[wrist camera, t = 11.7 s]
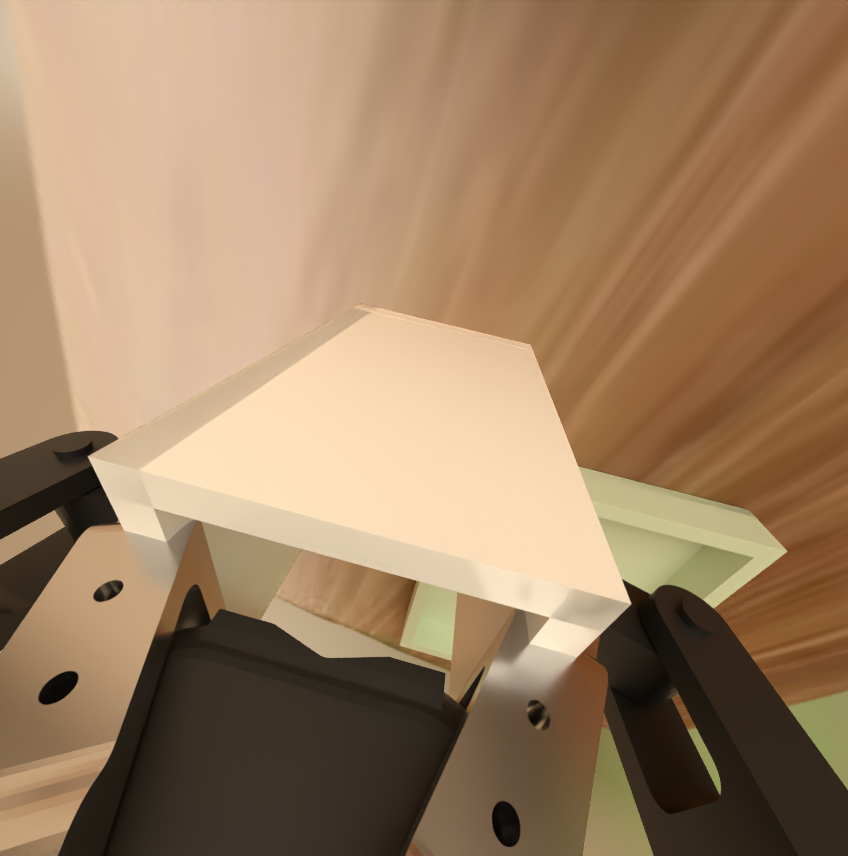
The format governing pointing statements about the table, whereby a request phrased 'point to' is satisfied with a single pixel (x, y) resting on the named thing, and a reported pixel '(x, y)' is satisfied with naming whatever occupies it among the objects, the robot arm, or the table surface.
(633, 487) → the tray
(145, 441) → the mini side table
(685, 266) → the table surface
